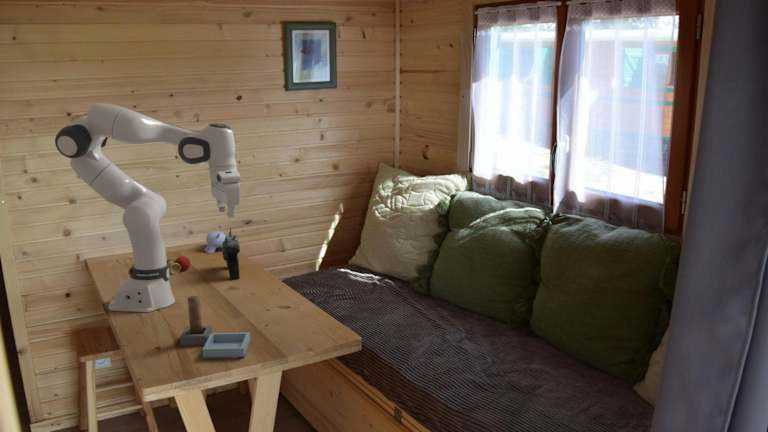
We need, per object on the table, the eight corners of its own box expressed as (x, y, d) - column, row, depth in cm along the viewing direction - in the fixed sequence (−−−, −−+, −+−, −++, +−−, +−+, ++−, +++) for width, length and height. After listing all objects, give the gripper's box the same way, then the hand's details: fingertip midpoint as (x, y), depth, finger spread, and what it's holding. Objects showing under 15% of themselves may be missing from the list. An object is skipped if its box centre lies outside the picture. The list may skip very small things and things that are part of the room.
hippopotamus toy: (225, 243, 330) (223, 224, 328) (232, 252, 317) (231, 231, 315) (201, 247, 326) (200, 226, 323) (208, 255, 312) (206, 234, 310)
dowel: (189, 342, 220) (186, 300, 217) (192, 337, 224) (189, 296, 220) (201, 342, 220) (198, 299, 217) (204, 337, 224) (200, 295, 220)
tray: (203, 358, 209) (202, 349, 208) (211, 342, 220) (211, 333, 219) (244, 357, 209) (243, 348, 208) (250, 341, 220) (250, 332, 220)
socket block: (181, 345, 218) (180, 336, 217) (187, 335, 226) (186, 326, 225) (207, 344, 218) (206, 335, 217) (212, 334, 226) (211, 325, 225)
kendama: (151, 283, 280) (194, 268, 290) (147, 268, 279) (190, 254, 289) (146, 281, 287) (188, 267, 296) (141, 266, 286) (184, 253, 295)
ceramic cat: (242, 280, 278) (239, 231, 273) (225, 282, 276) (222, 232, 271) (238, 266, 296) (234, 219, 292) (222, 267, 294) (218, 221, 290)
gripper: (204, 169, 240) (208, 209, 243) (223, 178, 222) (226, 221, 226) (223, 168, 243) (225, 207, 246) (242, 176, 225) (245, 219, 229)
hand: (226, 214), depth 236 cm, fingers open, 8 cm apart
